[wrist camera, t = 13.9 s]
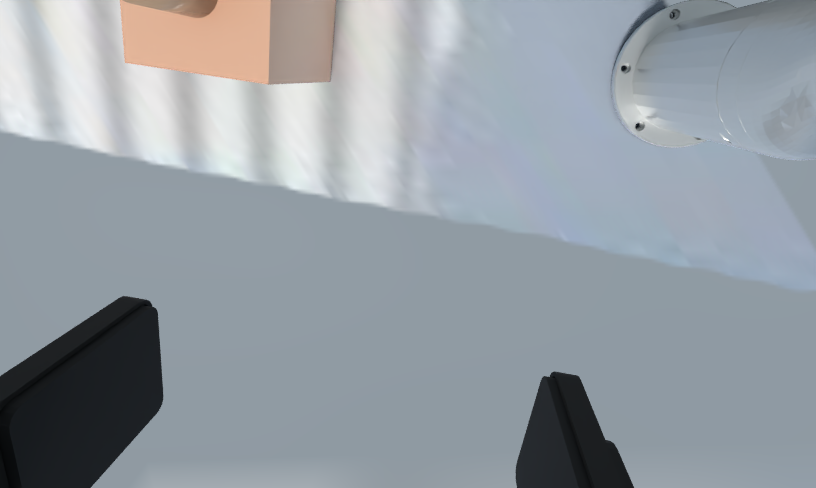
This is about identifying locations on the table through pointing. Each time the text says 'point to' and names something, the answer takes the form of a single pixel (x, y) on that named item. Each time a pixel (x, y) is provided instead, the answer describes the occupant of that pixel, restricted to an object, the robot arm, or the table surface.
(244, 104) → the table surface
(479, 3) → the table surface
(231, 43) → the cover
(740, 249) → the table surface
